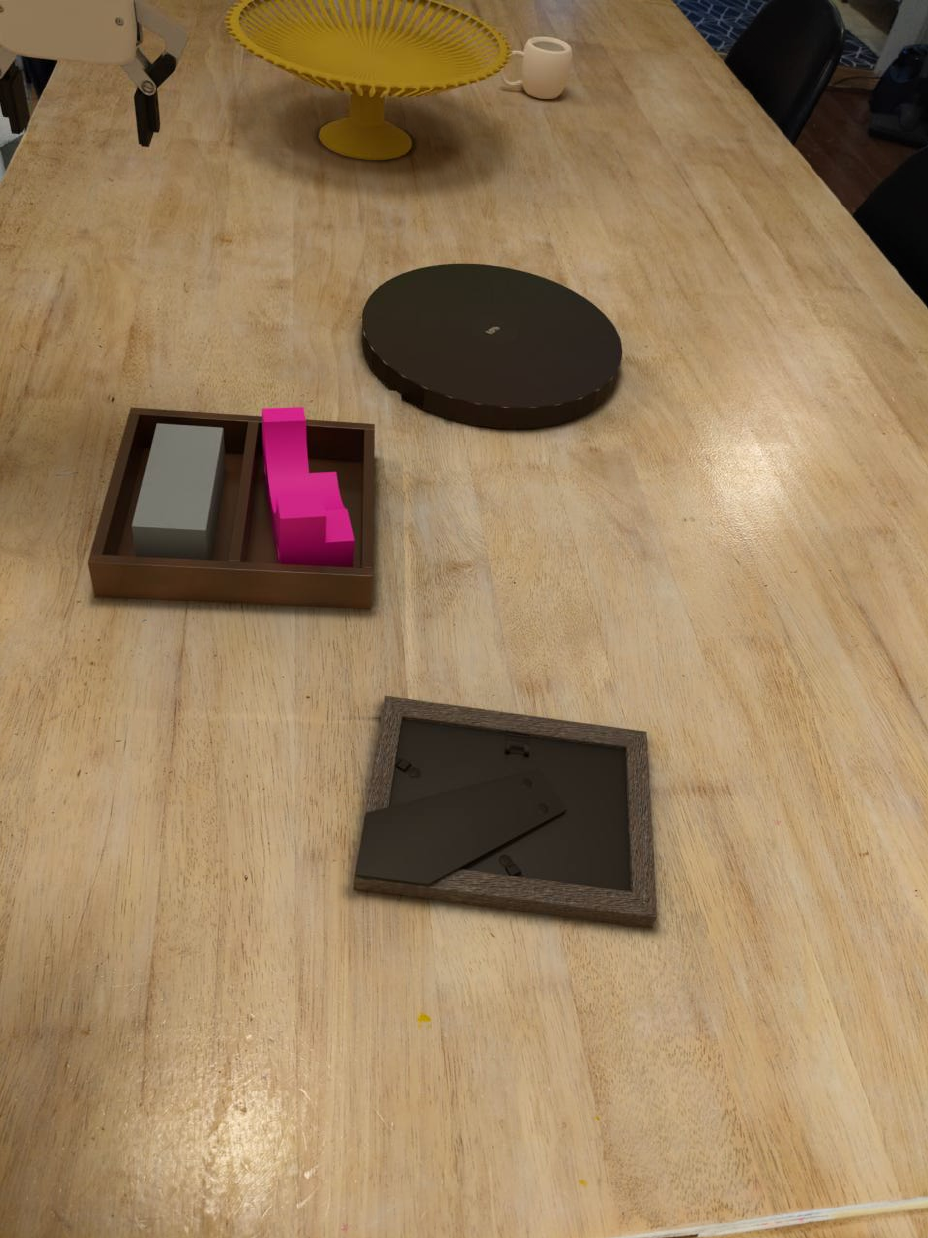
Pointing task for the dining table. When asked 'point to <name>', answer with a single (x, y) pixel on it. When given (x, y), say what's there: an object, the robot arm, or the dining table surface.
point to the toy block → (302, 497)
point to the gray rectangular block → (180, 493)
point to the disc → (490, 345)
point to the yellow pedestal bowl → (370, 62)
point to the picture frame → (510, 813)
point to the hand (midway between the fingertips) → (84, 133)
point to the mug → (543, 67)
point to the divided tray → (238, 521)
